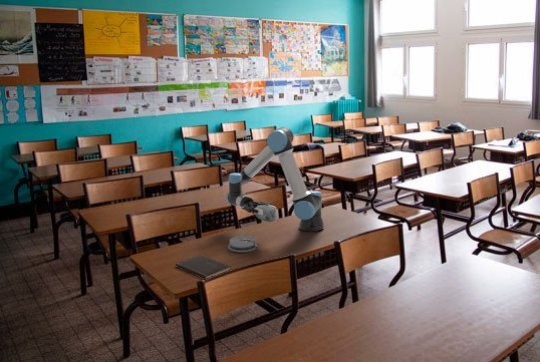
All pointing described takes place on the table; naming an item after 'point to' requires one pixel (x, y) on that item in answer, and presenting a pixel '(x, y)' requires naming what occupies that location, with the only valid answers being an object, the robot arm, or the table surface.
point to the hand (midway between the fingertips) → (269, 211)
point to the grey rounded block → (266, 213)
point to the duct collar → (242, 244)
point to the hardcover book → (203, 266)
